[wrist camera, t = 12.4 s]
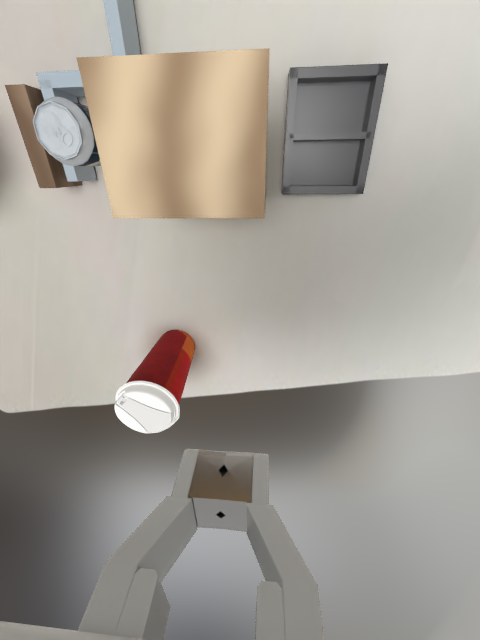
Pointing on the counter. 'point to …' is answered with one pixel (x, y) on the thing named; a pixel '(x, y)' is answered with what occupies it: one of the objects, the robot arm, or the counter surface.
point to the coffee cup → (157, 385)
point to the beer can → (66, 132)
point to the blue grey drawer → (70, 82)
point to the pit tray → (330, 127)
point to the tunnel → (181, 132)
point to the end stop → (42, 162)
